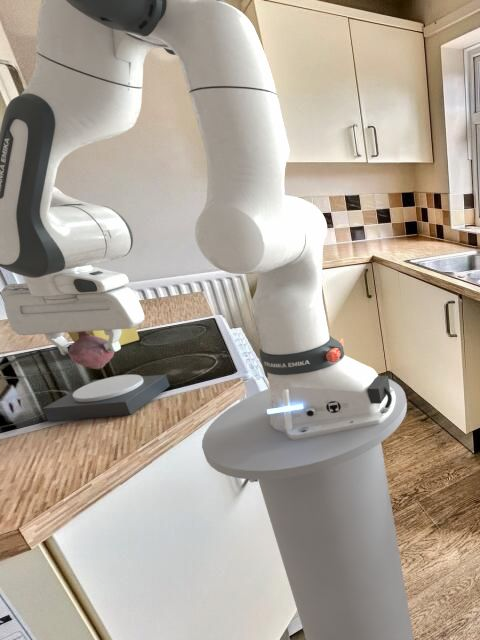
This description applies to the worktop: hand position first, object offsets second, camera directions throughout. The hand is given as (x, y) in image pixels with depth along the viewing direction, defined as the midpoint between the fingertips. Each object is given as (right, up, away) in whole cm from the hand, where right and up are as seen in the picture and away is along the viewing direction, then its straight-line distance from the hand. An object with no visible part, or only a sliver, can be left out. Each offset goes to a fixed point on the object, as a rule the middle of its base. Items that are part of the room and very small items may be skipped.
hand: (92, 352), depth 80 cm
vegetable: (0, -4, +1) cm, 4 cm away
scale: (0, -10, +4) cm, 11 cm away
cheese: (-31, +1, +36) cm, 48 cm away
